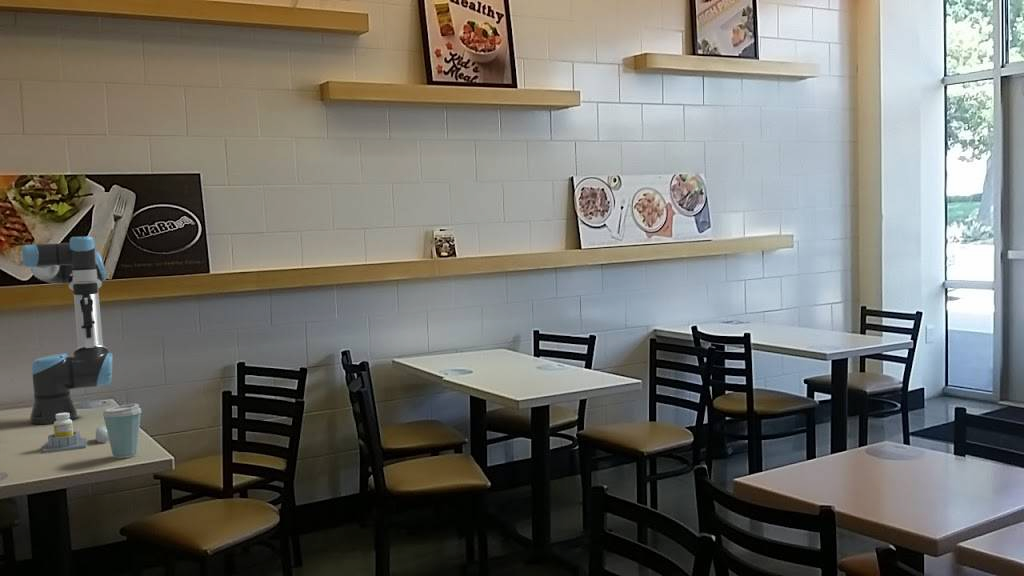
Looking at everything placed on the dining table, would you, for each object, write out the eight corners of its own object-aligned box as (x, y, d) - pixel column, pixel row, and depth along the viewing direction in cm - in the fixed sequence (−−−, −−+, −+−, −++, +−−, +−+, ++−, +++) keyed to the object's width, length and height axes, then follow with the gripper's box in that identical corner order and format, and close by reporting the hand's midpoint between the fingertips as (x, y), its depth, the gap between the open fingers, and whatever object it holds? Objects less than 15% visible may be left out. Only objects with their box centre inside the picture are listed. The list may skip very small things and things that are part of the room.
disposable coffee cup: (106, 462, 275) (102, 411, 274) (105, 454, 285) (102, 405, 284) (145, 457, 279) (141, 407, 278) (143, 449, 289) (140, 401, 288)
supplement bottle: (69, 445, 296) (67, 415, 295) (52, 446, 295) (49, 416, 295) (77, 441, 301) (74, 411, 300) (59, 442, 301) (57, 412, 300)
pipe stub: (96, 438, 307) (95, 426, 307) (109, 437, 309) (108, 425, 309) (96, 443, 300) (95, 431, 300) (109, 442, 302) (109, 429, 301)
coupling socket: (44, 445, 301) (43, 433, 301) (86, 440, 306) (85, 428, 306) (42, 453, 290) (41, 440, 290) (85, 447, 295) (84, 435, 295)
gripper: (73, 281, 328) (78, 342, 330) (71, 285, 305) (76, 350, 307) (97, 280, 331) (101, 340, 333) (97, 283, 308) (102, 348, 310)
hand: (89, 345), depth 320 cm, fingers open, 13 cm apart
